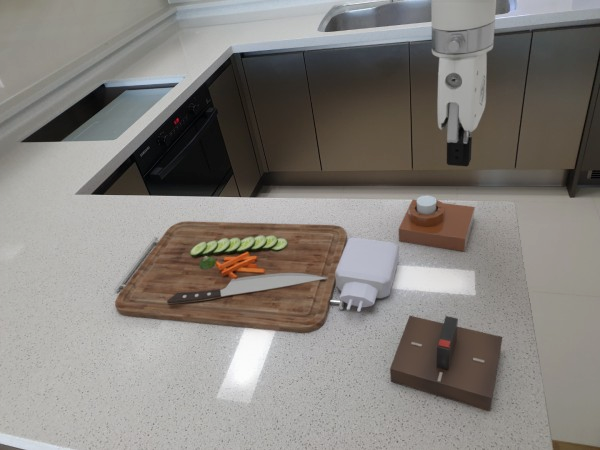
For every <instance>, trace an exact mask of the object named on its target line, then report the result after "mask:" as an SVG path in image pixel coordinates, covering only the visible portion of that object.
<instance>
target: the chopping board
mask: <svg viewBox="0 0 600 450" xmlns="http://www.w3.org/2000/svg"><path fill="white" fill-rule="evenodd" d="M347 235H348V234H347V230H345V227H341V226H340V225H335V224H312V223H311V224H310V223H308V224H305V223H273V222H272V223H271V222H269V223H267V222H229V221H228V222H226V221H225V222H224V221H222V222H221V221H195V220H194V221H193V220H192V221H190V220H188V221H187V220H186V221H180V222H177V223H175V224H172V225H171V226H170V227H169V228H168V229H167V230H166V231H165V233H164V234H163V235H162V236H161V238H160V239H159V238H158V237H157V236H154V237H153V239H152V240H151V241H150V242H149V244H148V245H147V246H146V248H145V249H144V250H143V252H142V253H141V254H140V256H139V257H138V258H137V259H136V260H135V262H134V263H133V265H132V266H131V267H130V268H129V269H128V271H127V272H126V273H125V274H124V276H123V278H122V279H121V280H120V281H119V283H118V284H117V285H116V287H115V288H114V291H115V292H119V291H120V289H121V288H122V290H121V291H120V293H119V294H118V295H117V297H116V299H115V301H114V303H115V304H114V306H115V308H116V310H117V311H118V313H119V314H120V315H123V316H126V317H135V318H145V319H156V320H157V319H158V320H164V321H165V320H167V321H177V322H186V323H189V322H190V323H197V324H206V325H207V324H209V325H217V326H226V327H227V326H229V327H237V328H239V327H240V328H247V329H248V328H249V329H258V330H268V331H277V332H280V331H281V332H289V333H298V334H299V333H300V334H302V333H304V334H305V333H312V332H315V331H317V330H319V329H320V328H321V327H322V326H324V325H325V322H326V321H327V318H328V314H329V310H330V307H331V304H338V309H339V310H344V307H345V304H346V303H345V302H343V301H342V300H341V299H340V300H339V299H333V295H334V293H335V288H336V278H335V271H336V269H337V266H338V264H339V261H340V259H341V256H342V254H343V251H344V249H345V246H346V244H347V241H348V236H347ZM158 239H159V240H158ZM155 244H156V245H155ZM153 246H154V247H153ZM151 249H152V250H151ZM150 250H151V251H150ZM149 251H150V252H149ZM147 254H148V255H147ZM146 255H147V256H146ZM144 258H145V259H144ZM143 259H144V260H143ZM142 261H143V262H142ZM141 262H142V263H141ZM138 266H139V267H138ZM137 267H138V268H137ZM136 269H137V270H136ZM135 270H136V271H135ZM134 271H135V272H134ZM133 272H134V274H133ZM132 274H133V275H132ZM131 275H132V276H131ZM130 276H131V278H130ZM129 278H130V279H129ZM128 279H129V281H128V282H127V280H128ZM126 282H127V283H126ZM125 283H126V284H125Z"/></svg>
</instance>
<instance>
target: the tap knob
mask: <svg viewBox="0 0 600 450" xmlns="http://www.w3.org/2000/svg"><path fill="white" fill-rule="evenodd" d="M443 323H444V324H443V328H442V331H441V334H440V338H439V341H438V345H437V363H436V367H440V368H443V369H447V370H449V366H450V363H451V359H452V355H453V351H454V347H455V343H456V339H457V327H459V326H458V324H459V318H457V317H453V316H447V315H445V317H444V321H443Z"/></svg>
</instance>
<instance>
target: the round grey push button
mask: <svg viewBox="0 0 600 450" xmlns="http://www.w3.org/2000/svg"><path fill="white" fill-rule="evenodd" d="M416 200H417V212H418V213H420V214H426V215H428V214H433V213H434V212H436V200H437V198H436V197H435V196H432V195H427V194H426V195H425V194H424V195H421V196H419V197H417V198H416Z"/></svg>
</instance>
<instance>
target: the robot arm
mask: <svg viewBox="0 0 600 450" xmlns="http://www.w3.org/2000/svg"><path fill="white" fill-rule="evenodd" d="M496 7H497V0H431V7H430V8H431V12H430V13H431V54H432V55H433V56H435V57H436V58H438V72H437V98H436V99H437V101H436V103H437V104H436V105H437V106H436V109H437V110H436V113H437V117H436V118H437V127H438V128H439V129H440V130H441V131H444V130H445V128H446V164H447V165H448V166H453V167H454V166H456V167H468V166H470V162H471V160H472V144H473V137H471V136H472V132H474V131H475V130H476V129H477V128H478V125H479V123H480V121H481V119H482V116H483V114H484V112H485V108H486V104H487V74H488V73H487V71H488V69H487V65H488V62H487V61H488V55H487V54H488V52H490V51H492V50H493V48H494V41H495V27H496V26H495V24H496V11H497V8H496Z"/></svg>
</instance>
